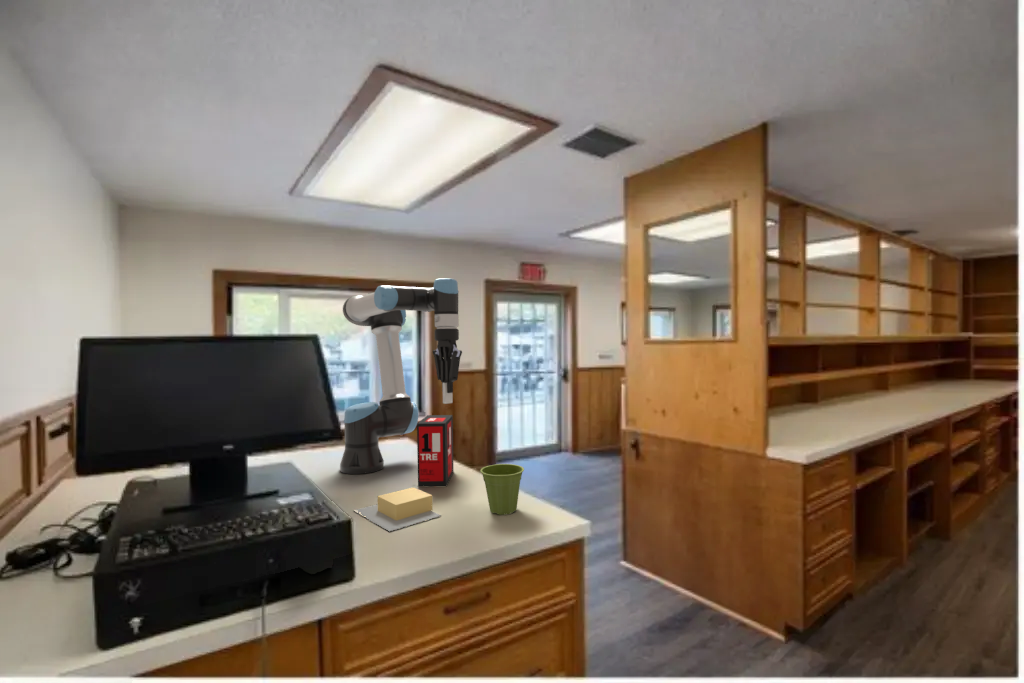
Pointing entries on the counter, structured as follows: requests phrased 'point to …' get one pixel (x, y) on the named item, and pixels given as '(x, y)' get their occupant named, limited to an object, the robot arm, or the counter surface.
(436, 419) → the cleaning product box
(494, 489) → the plant pot
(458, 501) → the counter surface
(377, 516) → the mat
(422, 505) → the ochre box
